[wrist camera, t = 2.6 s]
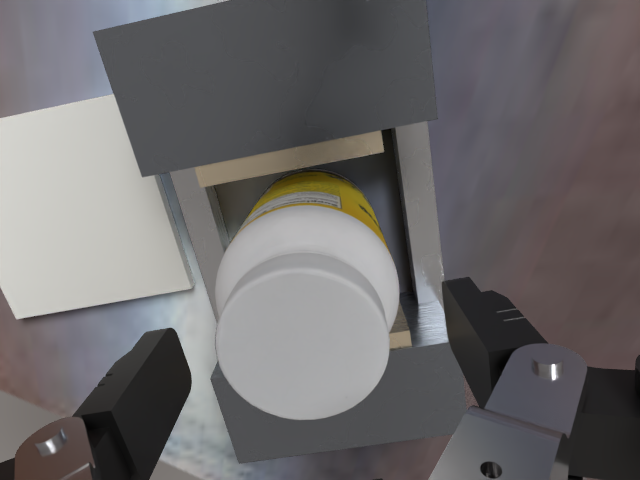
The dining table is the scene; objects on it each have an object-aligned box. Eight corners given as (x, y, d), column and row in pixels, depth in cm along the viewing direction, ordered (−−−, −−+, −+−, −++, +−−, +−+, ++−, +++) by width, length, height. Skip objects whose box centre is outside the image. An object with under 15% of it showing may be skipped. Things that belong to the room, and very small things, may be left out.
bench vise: (143, 48, 19) (81, 34, 14) (406, -11, 18) (434, -47, 13) (249, 394, 25) (231, 464, 20) (448, 364, 24) (477, 430, 19)
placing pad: (-64, 133, 20) (-75, 134, 20) (132, 91, 19) (126, 91, 19) (24, 313, 23) (16, 319, 23) (194, 283, 23) (191, 288, 22)
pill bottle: (377, 277, 22) (420, 439, 12) (262, 284, 23) (206, 450, 12) (372, 160, 20) (420, 232, 10) (246, 170, 20) (162, 251, 10)
